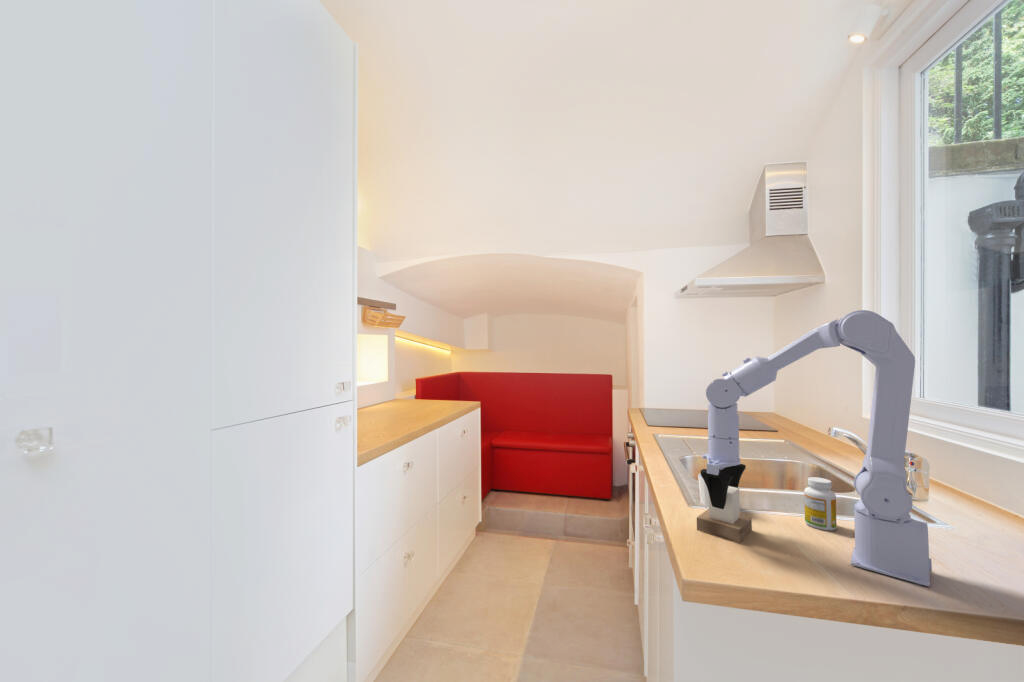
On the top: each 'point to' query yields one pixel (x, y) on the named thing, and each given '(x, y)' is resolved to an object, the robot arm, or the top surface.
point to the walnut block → (725, 527)
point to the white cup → (703, 491)
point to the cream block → (727, 507)
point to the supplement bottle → (820, 504)
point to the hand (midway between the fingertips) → (724, 502)
